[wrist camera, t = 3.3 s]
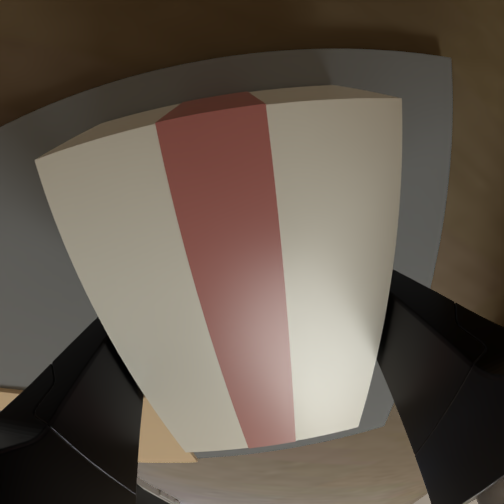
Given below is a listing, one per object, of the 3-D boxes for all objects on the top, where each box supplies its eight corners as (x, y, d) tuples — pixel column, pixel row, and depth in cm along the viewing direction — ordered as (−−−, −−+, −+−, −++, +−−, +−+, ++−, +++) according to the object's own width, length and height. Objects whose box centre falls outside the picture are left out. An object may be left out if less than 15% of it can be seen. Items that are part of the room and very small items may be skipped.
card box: (102, 122, 7) (33, 159, 4) (333, 84, 7) (402, 96, 4) (188, 377, 13) (185, 453, 10) (334, 354, 13) (358, 427, 10)
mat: (441, 57, 7) (457, 58, 7) (381, 420, 18) (385, 429, 17) (-126, 214, 7) (-134, 220, 6) (31, 441, 18) (29, 449, 17)
